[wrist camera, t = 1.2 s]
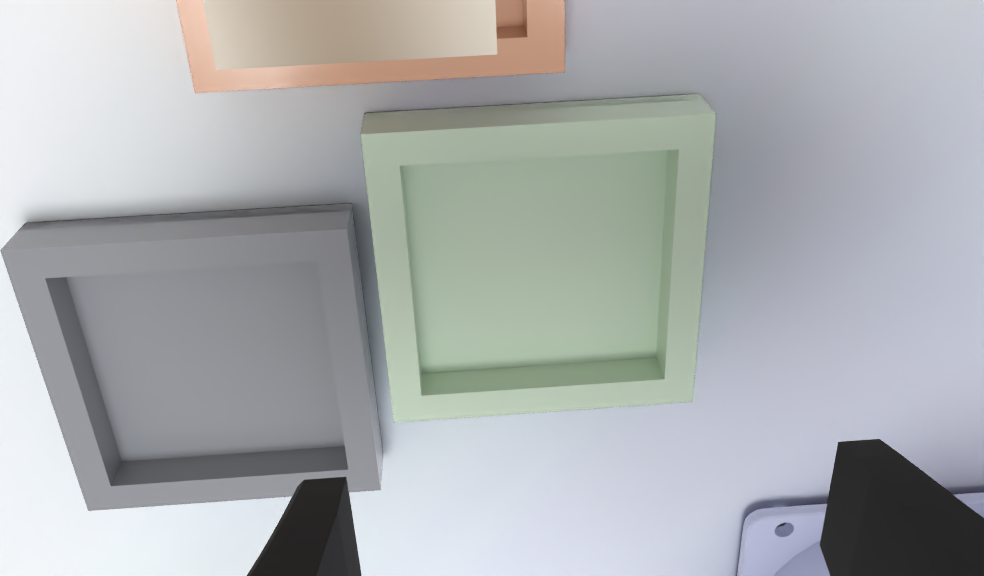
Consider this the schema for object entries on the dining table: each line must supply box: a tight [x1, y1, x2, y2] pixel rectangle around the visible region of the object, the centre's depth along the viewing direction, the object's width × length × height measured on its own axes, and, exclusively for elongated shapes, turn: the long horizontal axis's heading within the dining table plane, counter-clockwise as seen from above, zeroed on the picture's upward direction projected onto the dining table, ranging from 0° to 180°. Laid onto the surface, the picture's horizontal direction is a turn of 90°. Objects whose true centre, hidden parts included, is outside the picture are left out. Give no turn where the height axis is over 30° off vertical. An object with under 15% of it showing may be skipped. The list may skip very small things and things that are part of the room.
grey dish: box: [0, 203, 383, 511], centre depth 21 cm, size 7×7×1 cm
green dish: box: [360, 94, 716, 422], centre depth 20 cm, size 7×7×1 cm
